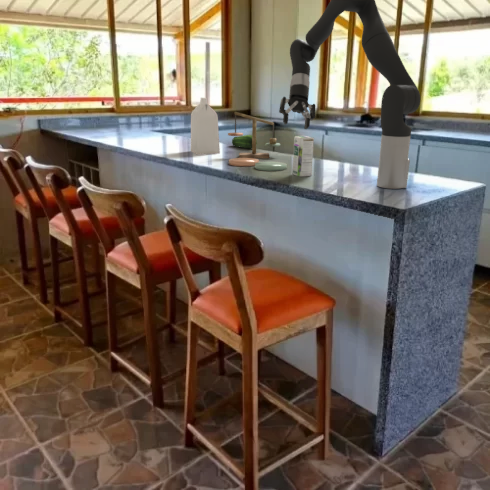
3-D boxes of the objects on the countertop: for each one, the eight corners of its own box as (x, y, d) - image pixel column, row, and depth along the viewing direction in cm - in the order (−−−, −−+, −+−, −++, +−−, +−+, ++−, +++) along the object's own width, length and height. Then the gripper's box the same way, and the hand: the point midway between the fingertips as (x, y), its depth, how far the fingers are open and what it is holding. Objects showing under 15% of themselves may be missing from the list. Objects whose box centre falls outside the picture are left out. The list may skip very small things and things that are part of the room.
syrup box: (291, 174, 184) (293, 135, 179) (305, 173, 186) (307, 135, 181) (298, 176, 179) (300, 137, 174) (312, 175, 181) (314, 137, 176)
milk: (219, 153, 234) (219, 98, 226) (197, 154, 230) (195, 98, 222) (212, 150, 245) (211, 97, 236) (190, 151, 241) (189, 97, 232)
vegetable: (250, 133, 244) (230, 130, 259) (245, 146, 244) (225, 142, 260) (261, 139, 248) (240, 136, 264) (256, 152, 248) (235, 148, 264)
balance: (279, 156, 227) (280, 111, 220) (280, 158, 221) (282, 112, 214) (228, 155, 227) (228, 111, 220) (227, 158, 220) (227, 112, 213)
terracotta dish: (258, 161, 212) (258, 157, 211) (259, 166, 200) (259, 162, 199) (229, 161, 212) (229, 157, 211) (228, 166, 199) (228, 162, 199)
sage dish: (285, 165, 203) (285, 161, 202) (288, 170, 190) (288, 166, 190) (254, 165, 202) (254, 161, 202) (255, 170, 190) (255, 166, 190)
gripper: (286, 79, 184) (282, 118, 181) (320, 87, 187) (316, 126, 184) (279, 88, 191) (275, 126, 188) (312, 96, 194) (309, 133, 191)
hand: (296, 126), depth 186 cm, fingers open, 8 cm apart
